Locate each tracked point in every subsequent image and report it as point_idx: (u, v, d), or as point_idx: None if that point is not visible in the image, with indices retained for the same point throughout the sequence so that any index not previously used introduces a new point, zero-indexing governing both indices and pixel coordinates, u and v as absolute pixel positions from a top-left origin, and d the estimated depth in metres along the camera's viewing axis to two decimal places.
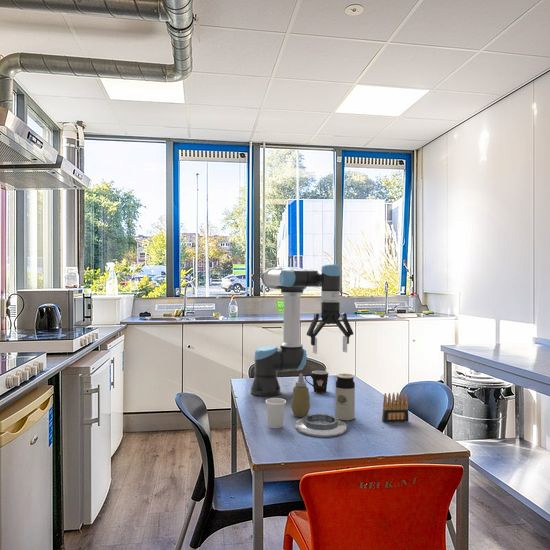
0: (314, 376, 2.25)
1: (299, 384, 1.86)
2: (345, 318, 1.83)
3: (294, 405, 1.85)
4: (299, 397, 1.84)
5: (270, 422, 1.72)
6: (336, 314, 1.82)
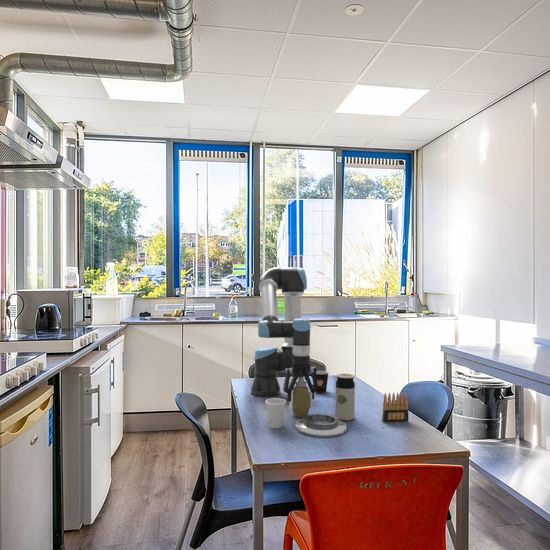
0: None
1: (299, 384, 1.86)
2: (314, 373, 1.88)
3: (294, 405, 1.85)
4: (299, 397, 1.84)
5: (270, 422, 1.72)
6: (307, 366, 1.87)
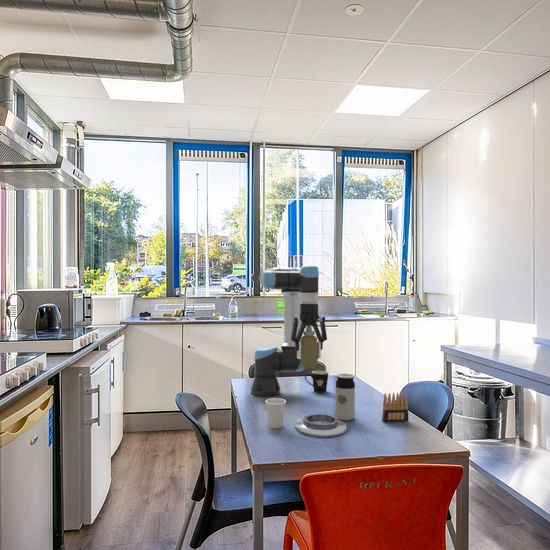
0: (314, 376, 2.25)
1: (307, 333, 1.79)
2: (323, 322, 1.82)
3: (302, 355, 1.79)
4: (307, 346, 1.78)
5: (270, 422, 1.72)
6: (315, 315, 1.81)
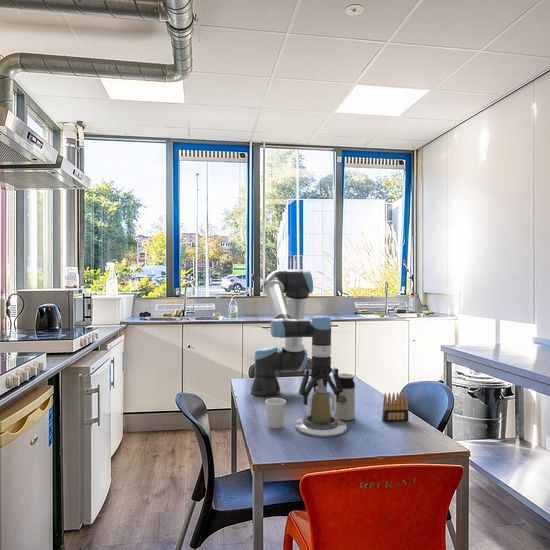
0: None
1: (319, 390, 1.69)
2: (336, 374, 1.73)
3: (314, 413, 1.69)
4: (319, 405, 1.68)
5: (270, 422, 1.72)
6: (327, 369, 1.72)
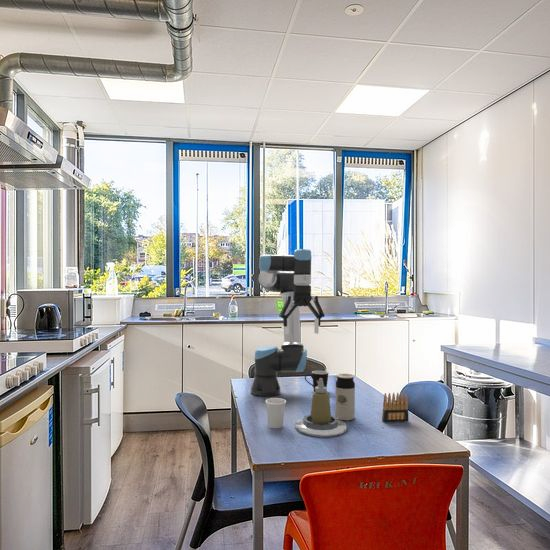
0: (314, 376, 2.25)
1: (319, 390, 1.70)
2: (316, 301, 1.91)
3: (314, 413, 1.69)
4: (319, 405, 1.69)
5: (270, 422, 1.72)
6: (308, 297, 1.90)
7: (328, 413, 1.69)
